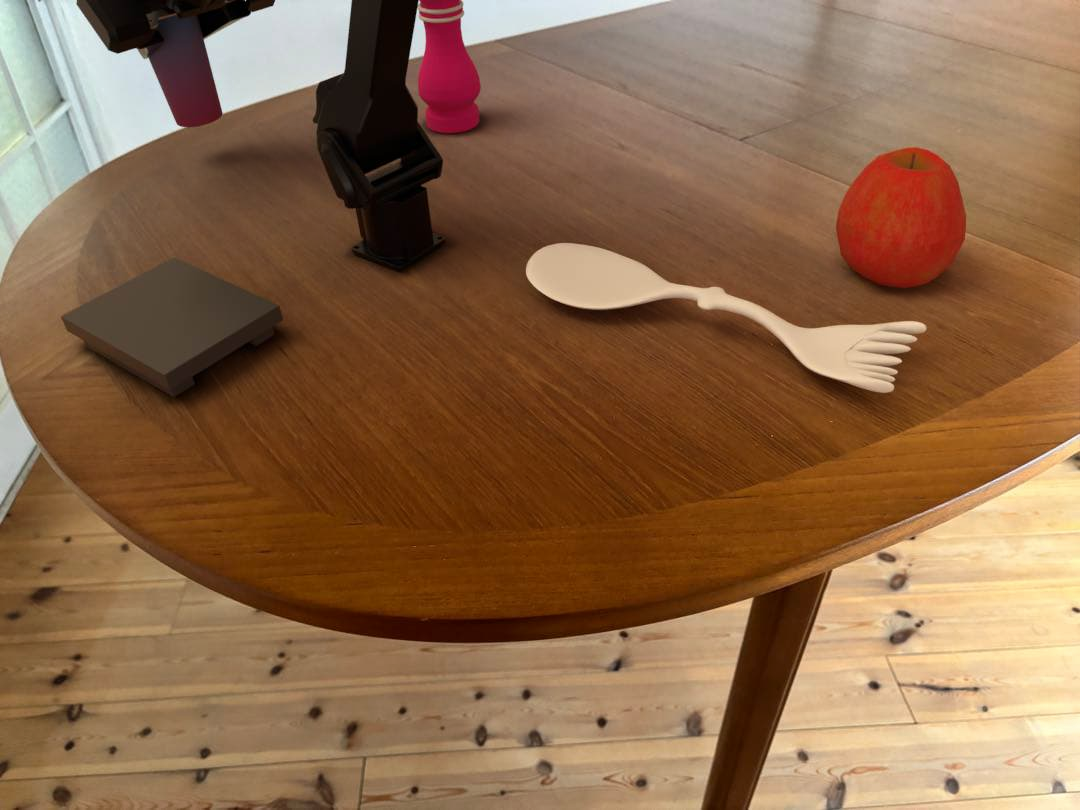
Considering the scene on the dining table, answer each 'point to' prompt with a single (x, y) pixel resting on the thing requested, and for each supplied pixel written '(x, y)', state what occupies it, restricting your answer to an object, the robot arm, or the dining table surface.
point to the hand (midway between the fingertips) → (170, 46)
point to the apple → (902, 219)
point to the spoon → (626, 282)
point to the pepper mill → (447, 69)
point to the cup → (186, 72)
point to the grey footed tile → (172, 323)
